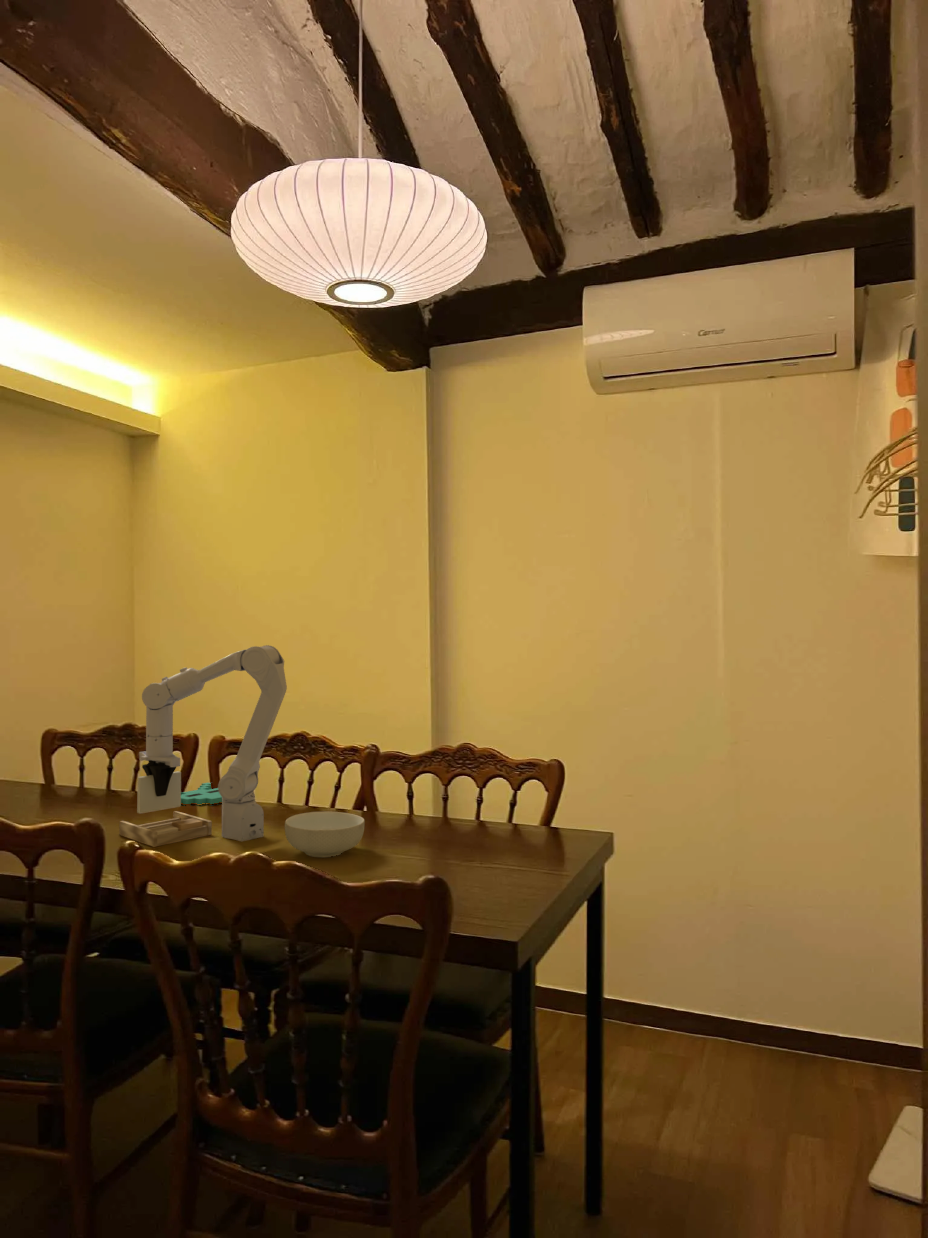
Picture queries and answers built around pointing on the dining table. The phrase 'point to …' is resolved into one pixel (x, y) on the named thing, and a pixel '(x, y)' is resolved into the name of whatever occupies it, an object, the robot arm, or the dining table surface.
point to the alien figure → (202, 795)
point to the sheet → (151, 802)
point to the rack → (152, 839)
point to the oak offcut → (187, 824)
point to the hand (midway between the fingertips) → (159, 795)
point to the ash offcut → (164, 829)
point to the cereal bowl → (324, 832)
